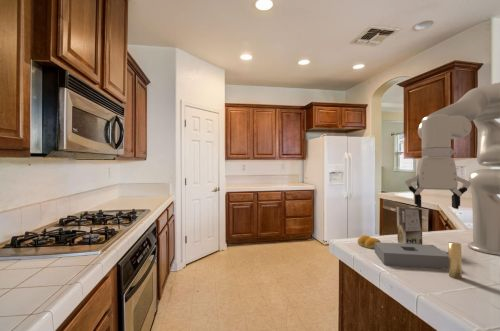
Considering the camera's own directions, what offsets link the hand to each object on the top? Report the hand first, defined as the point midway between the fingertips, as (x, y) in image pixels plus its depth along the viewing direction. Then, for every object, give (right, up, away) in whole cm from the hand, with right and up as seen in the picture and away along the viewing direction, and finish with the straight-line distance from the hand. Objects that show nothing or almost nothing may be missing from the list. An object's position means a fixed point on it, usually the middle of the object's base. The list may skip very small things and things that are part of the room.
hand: (436, 207), depth 79 cm
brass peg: (+2, -20, -4) cm, 21 cm away
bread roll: (-9, -21, +26) cm, 35 cm away
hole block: (-3, -20, +9) cm, 22 cm away
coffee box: (+7, -20, +24) cm, 32 cm away
